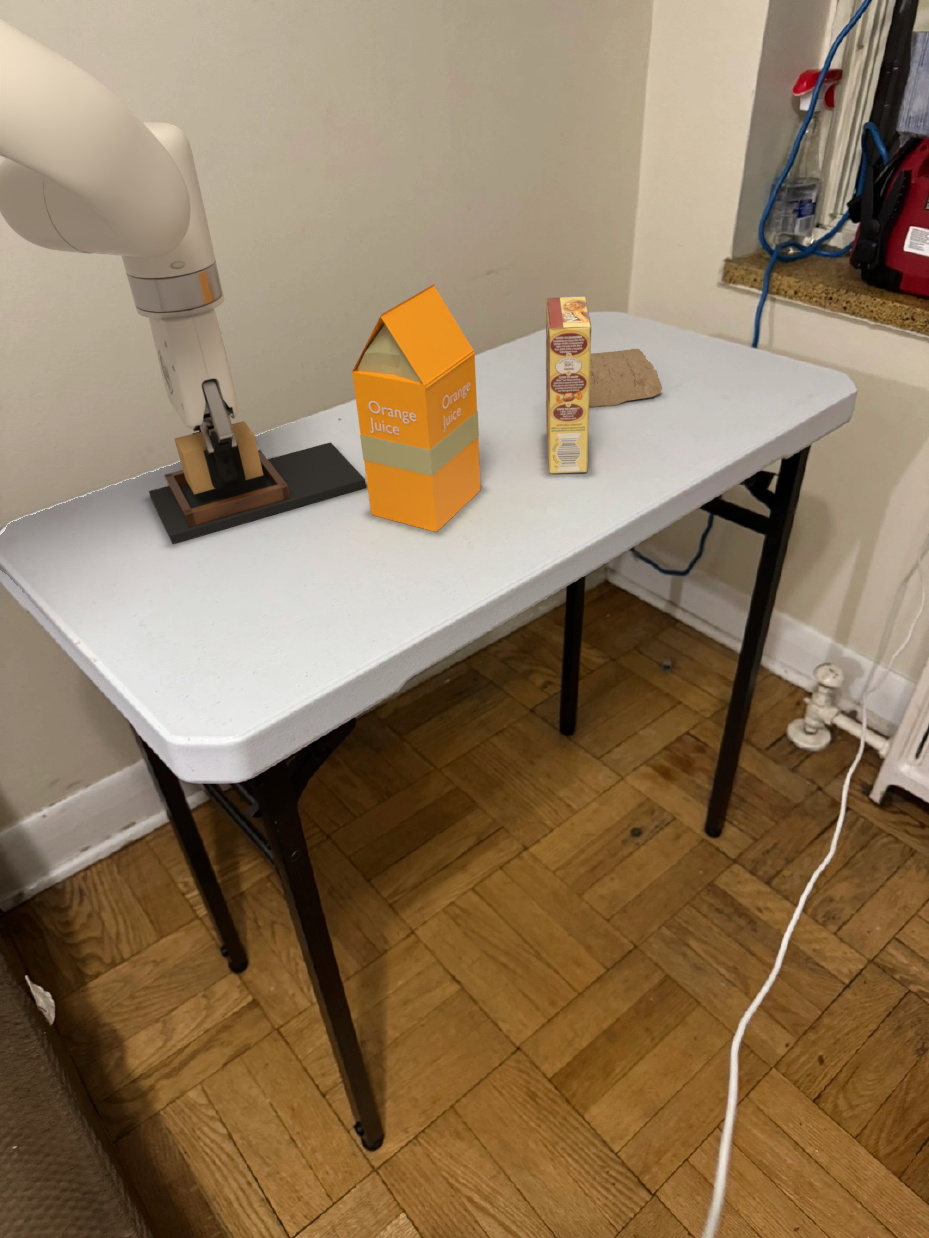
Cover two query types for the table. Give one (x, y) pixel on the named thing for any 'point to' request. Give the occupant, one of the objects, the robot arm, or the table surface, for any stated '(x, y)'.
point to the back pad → (255, 492)
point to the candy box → (567, 383)
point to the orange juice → (418, 414)
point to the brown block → (196, 463)
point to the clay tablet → (621, 378)
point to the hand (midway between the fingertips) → (223, 473)
